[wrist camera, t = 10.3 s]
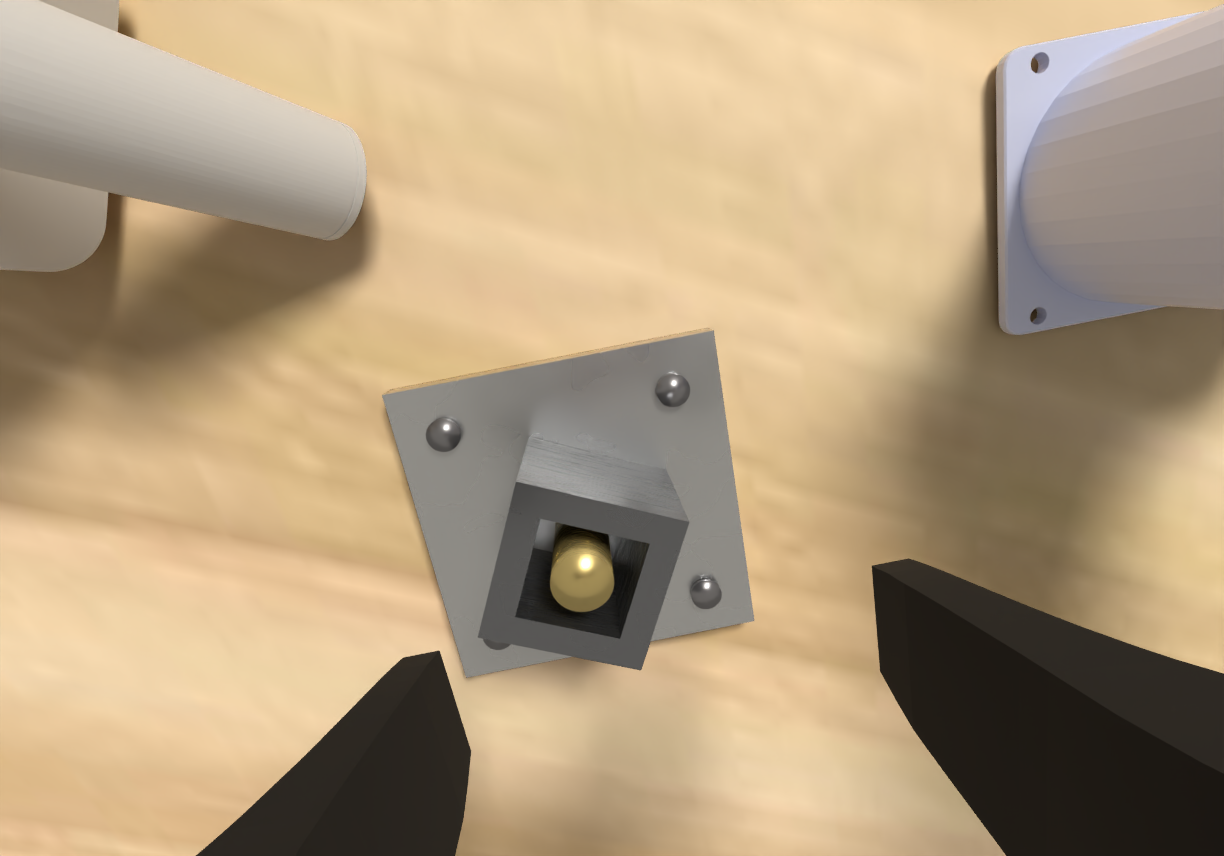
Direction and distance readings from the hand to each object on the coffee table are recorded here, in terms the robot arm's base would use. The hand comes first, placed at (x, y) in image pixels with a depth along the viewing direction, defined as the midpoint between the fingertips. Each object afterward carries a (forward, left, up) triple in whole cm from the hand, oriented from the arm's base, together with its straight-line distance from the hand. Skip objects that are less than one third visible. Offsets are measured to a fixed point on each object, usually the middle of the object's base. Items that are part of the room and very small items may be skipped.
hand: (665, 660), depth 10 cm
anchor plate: (+2, +1, -10) cm, 10 cm away
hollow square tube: (+2, +1, -9) cm, 9 cm away
